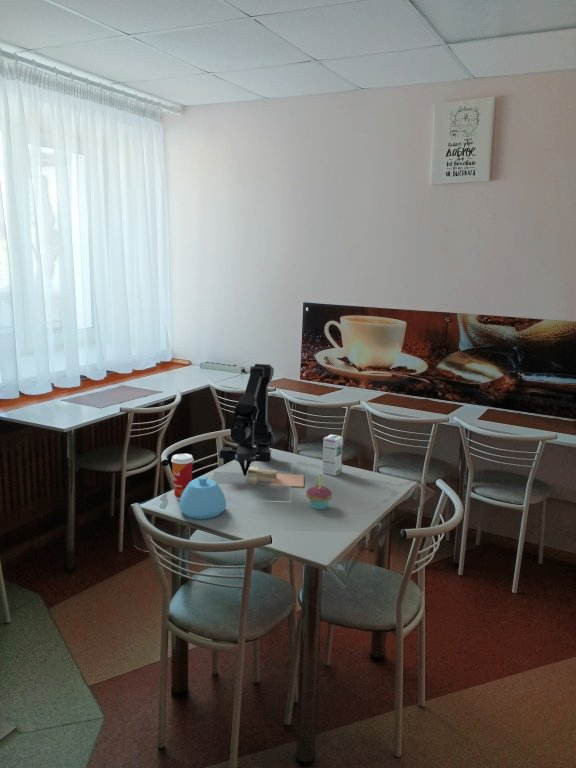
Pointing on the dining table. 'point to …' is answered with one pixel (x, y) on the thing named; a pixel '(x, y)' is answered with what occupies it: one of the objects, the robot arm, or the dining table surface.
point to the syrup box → (332, 454)
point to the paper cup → (181, 472)
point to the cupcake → (319, 496)
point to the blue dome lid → (202, 499)
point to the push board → (239, 478)
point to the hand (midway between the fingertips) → (245, 475)
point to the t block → (260, 475)
